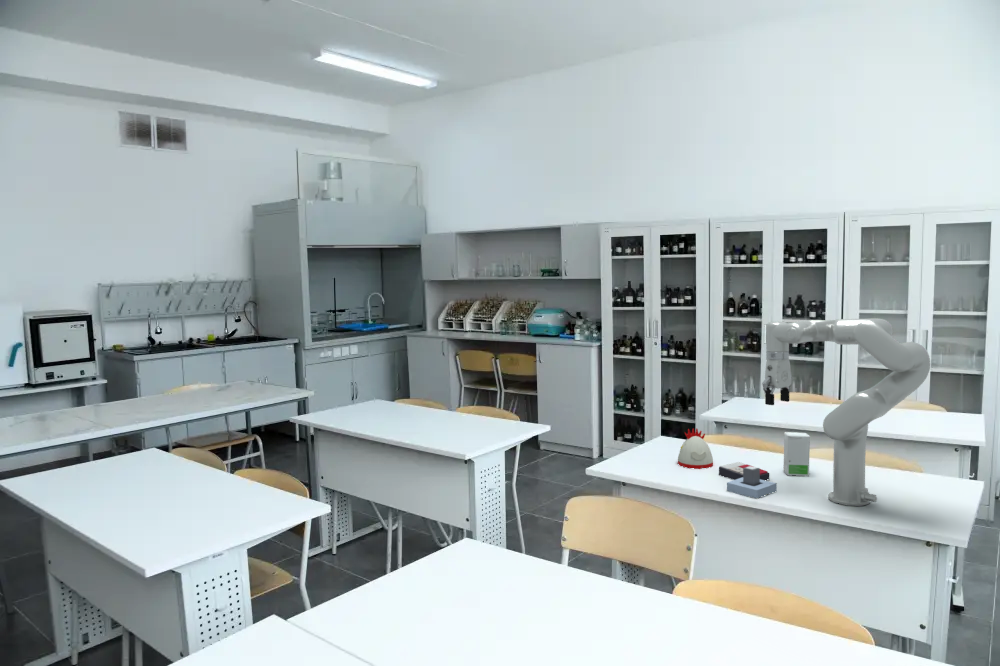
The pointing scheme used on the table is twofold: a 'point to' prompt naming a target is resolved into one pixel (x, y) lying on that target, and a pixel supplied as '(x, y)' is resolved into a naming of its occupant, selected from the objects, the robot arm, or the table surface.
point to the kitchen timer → (695, 452)
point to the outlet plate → (751, 488)
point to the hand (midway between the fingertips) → (777, 402)
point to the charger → (751, 476)
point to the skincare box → (796, 453)
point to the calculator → (738, 471)
